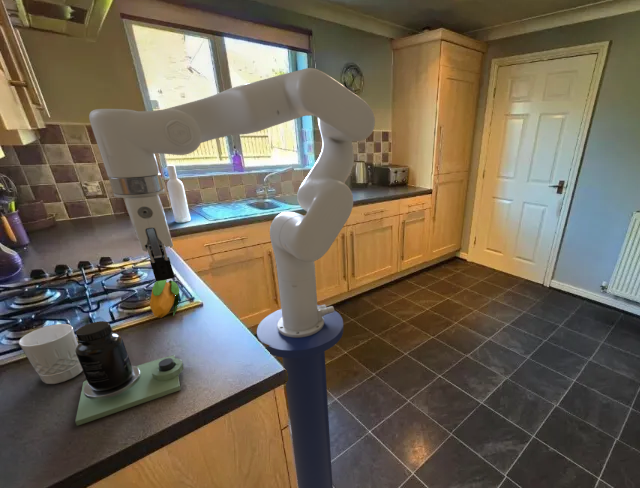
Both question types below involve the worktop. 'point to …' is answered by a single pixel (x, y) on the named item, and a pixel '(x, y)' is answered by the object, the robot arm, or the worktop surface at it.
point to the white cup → (52, 352)
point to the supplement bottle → (102, 356)
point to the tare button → (166, 365)
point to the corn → (164, 298)
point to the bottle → (177, 196)
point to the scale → (133, 391)
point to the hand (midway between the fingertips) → (165, 278)
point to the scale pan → (115, 391)
